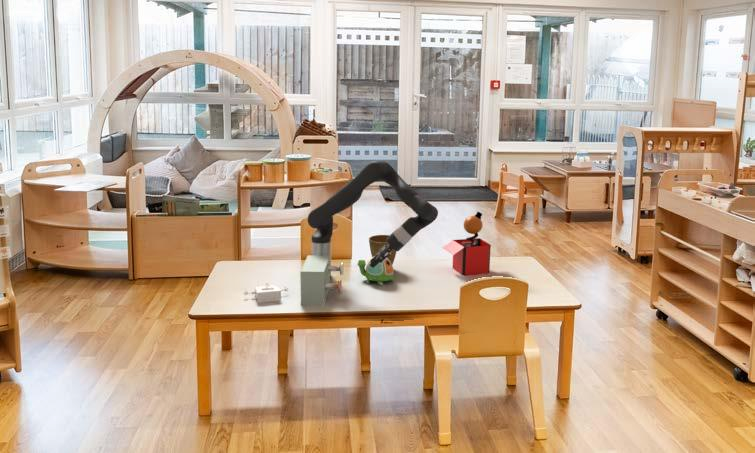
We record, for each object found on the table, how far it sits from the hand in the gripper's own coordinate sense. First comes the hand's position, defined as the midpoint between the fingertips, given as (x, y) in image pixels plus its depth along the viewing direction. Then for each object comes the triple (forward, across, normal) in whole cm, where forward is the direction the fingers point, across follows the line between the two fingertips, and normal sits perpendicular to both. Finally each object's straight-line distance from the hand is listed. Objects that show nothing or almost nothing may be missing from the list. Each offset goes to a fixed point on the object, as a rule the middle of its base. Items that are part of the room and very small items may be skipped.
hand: (371, 264), depth 331 cm
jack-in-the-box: (-22, -50, +46) cm, 71 cm away
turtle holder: (+11, -29, +13) cm, 34 cm away
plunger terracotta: (+23, 0, -5) cm, 24 cm away
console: (+29, -6, -6) cm, 31 cm away
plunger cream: (+20, -12, -8) cm, 25 cm away
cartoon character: (+45, -4, -21) cm, 50 cm away
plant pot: (+9, -49, +15) cm, 52 cm away
